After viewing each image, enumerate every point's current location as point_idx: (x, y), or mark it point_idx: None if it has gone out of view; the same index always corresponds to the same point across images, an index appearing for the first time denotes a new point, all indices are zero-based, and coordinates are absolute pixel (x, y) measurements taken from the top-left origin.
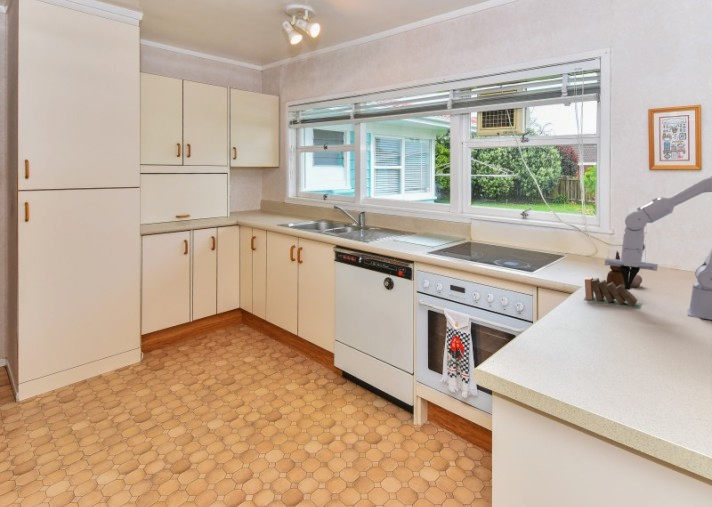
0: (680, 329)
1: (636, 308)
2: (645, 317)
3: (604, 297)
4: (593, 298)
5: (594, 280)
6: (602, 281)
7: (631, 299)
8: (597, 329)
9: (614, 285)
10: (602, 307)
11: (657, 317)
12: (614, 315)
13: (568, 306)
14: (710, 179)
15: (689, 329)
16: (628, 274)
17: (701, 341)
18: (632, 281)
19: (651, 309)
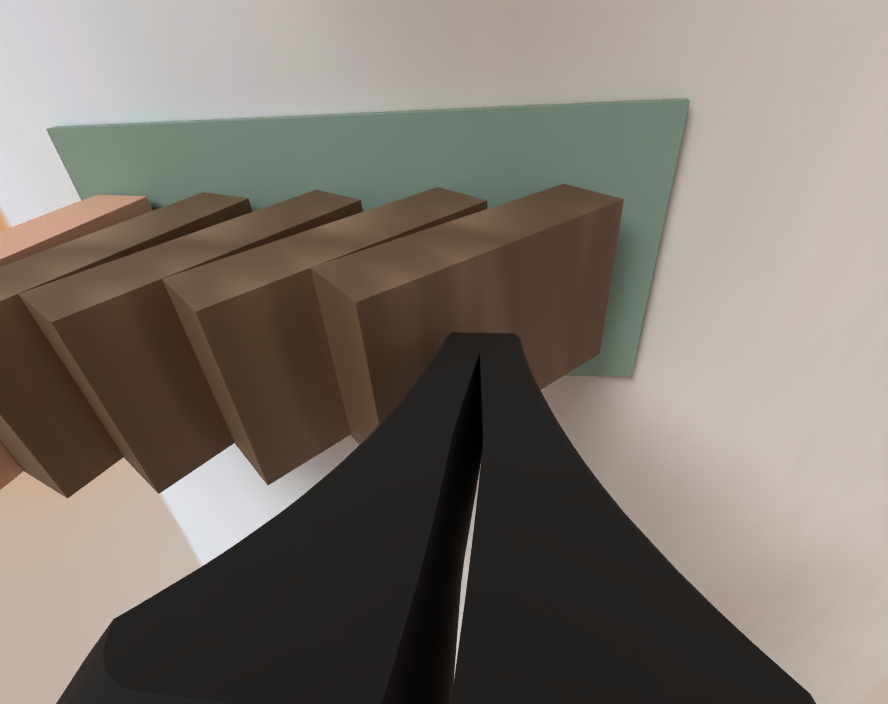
0: (810, 619)
1: (597, 374)
2: (646, 521)
3: (250, 208)
4: None
5: (47, 484)
6: (115, 431)
7: (549, 375)
8: None
9: (284, 353)
10: (355, 446)
11: (736, 489)
12: (465, 556)
13: (201, 518)
14: None
15: (873, 606)
16: (445, 645)
17: (843, 698)
18: (546, 418)
19: (752, 280)
